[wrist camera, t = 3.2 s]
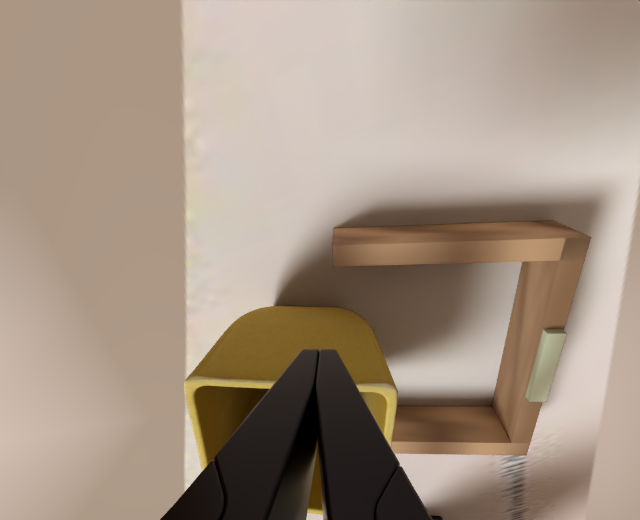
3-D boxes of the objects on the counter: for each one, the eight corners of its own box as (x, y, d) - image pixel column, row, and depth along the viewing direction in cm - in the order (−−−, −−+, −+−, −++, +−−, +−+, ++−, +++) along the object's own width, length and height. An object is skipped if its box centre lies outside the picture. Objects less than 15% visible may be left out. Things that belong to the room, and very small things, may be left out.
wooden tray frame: (340, 416, 25) (341, 457, 22) (333, 228, 19) (332, 248, 16) (505, 418, 24) (529, 461, 21) (553, 220, 18) (597, 239, 15)
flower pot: (376, 282, 20) (401, 389, 12) (367, 385, 24) (382, 522, 16) (242, 278, 21) (179, 378, 13) (253, 379, 24) (208, 510, 16)
